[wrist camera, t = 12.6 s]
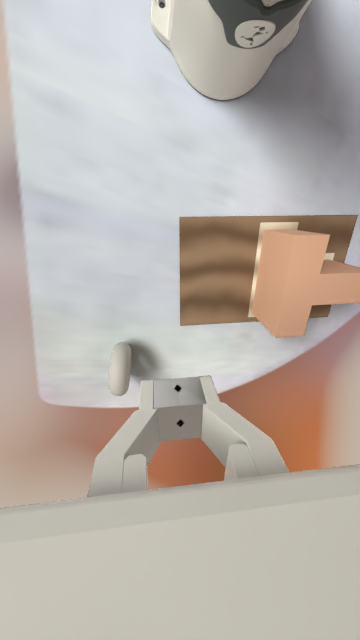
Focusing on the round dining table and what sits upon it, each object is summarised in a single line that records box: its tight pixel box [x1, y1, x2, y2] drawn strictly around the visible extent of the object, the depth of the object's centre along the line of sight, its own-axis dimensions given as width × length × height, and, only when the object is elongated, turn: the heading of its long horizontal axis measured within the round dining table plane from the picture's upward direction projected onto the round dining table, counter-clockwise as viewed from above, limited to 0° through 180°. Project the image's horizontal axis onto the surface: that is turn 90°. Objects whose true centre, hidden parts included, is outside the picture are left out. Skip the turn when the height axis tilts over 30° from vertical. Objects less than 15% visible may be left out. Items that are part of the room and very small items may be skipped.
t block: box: [252, 229, 360, 338], centre depth 40 cm, size 16×14×10 cm
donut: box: [109, 342, 131, 396], centre depth 44 cm, size 10×3×10 cm, turn 173°
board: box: [180, 215, 358, 326], centre depth 44 cm, size 20×32×1 cm, turn 90°
